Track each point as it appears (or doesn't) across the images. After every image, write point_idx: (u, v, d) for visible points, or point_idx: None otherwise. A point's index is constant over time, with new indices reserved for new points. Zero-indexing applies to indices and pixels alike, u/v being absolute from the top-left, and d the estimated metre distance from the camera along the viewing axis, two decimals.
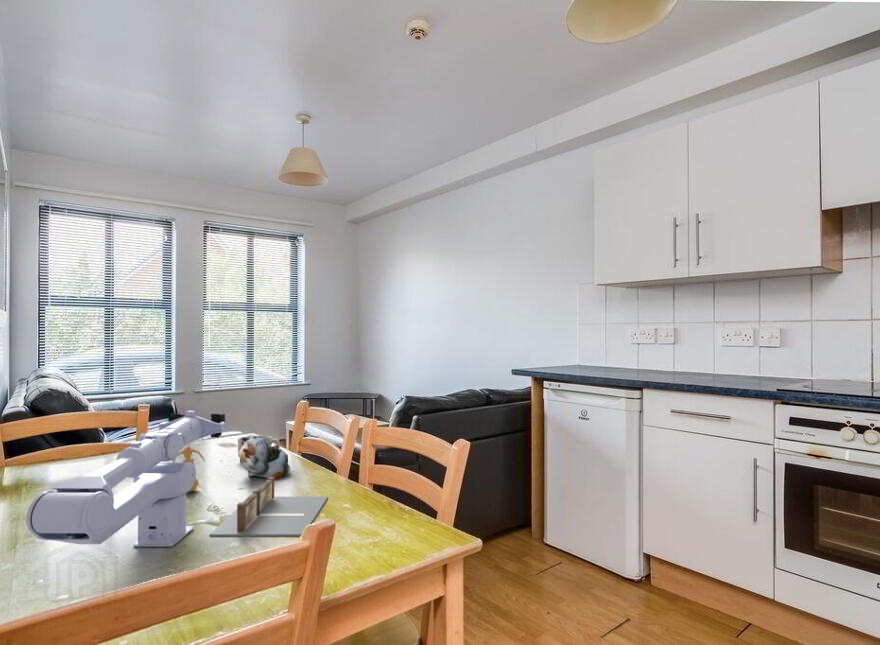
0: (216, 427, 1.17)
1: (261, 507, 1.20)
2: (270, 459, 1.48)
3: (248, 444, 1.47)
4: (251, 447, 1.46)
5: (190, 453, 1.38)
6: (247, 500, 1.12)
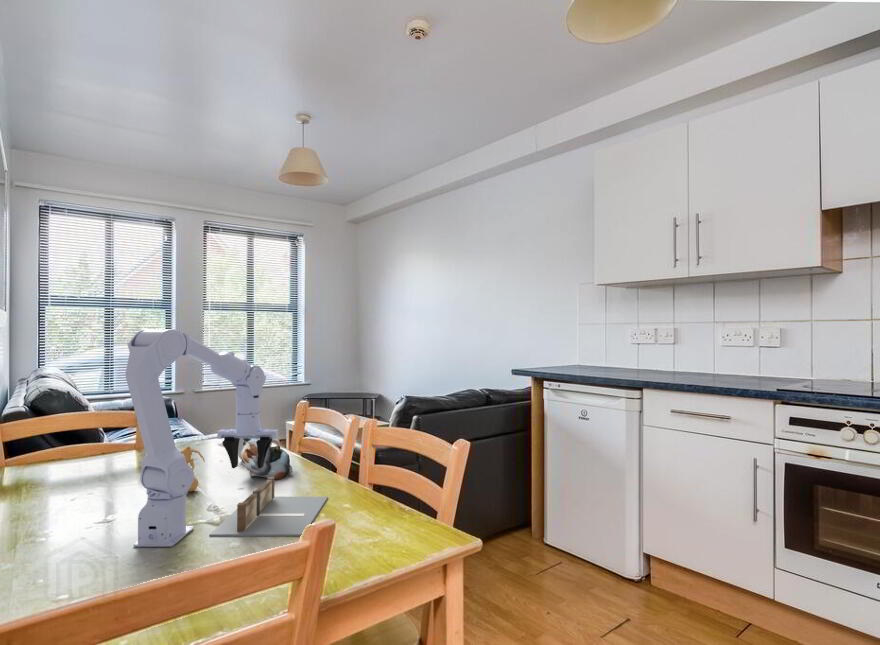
0: None
1: (261, 507, 1.20)
2: (272, 460, 1.48)
3: (250, 444, 1.47)
4: (253, 447, 1.46)
5: (190, 453, 1.38)
6: (247, 500, 1.12)
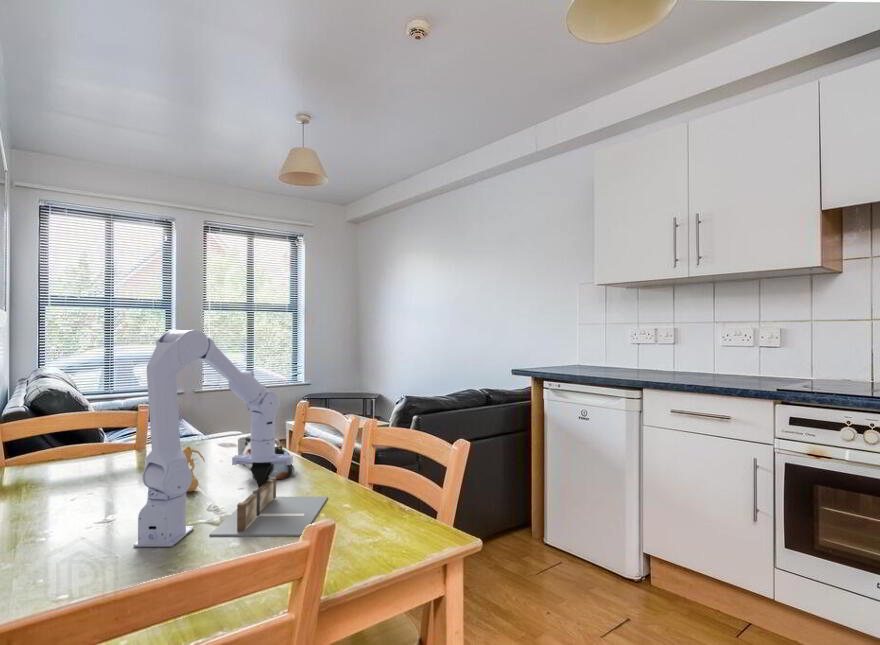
0: None
1: (261, 507, 1.20)
2: None
3: None
4: None
5: (190, 453, 1.38)
6: (247, 500, 1.12)
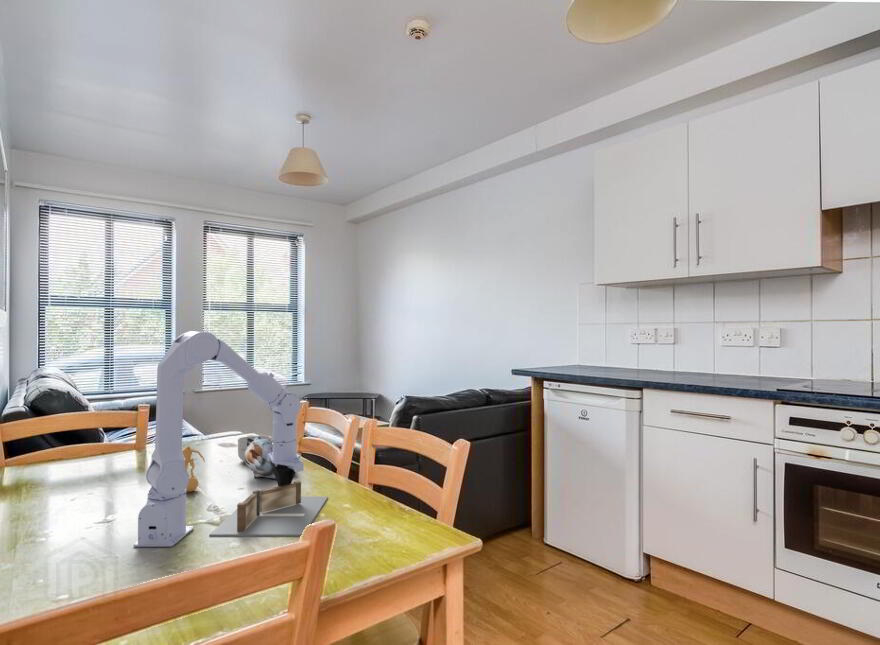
0: None
1: (266, 509, 1.19)
2: None
3: (254, 445, 1.46)
4: (258, 448, 1.45)
5: (190, 453, 1.38)
6: (247, 500, 1.12)
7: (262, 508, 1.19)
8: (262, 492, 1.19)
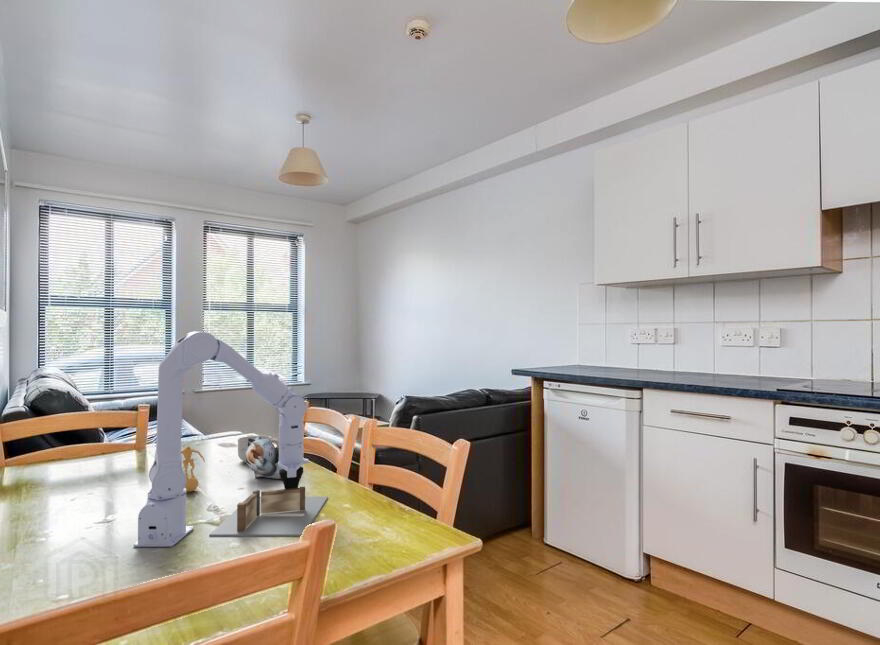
0: (292, 468, 1.16)
1: (265, 510, 1.18)
2: (278, 460, 1.48)
3: (255, 445, 1.46)
4: (259, 448, 1.45)
5: (190, 453, 1.38)
6: (247, 500, 1.12)
7: (262, 509, 1.18)
8: (261, 493, 1.18)
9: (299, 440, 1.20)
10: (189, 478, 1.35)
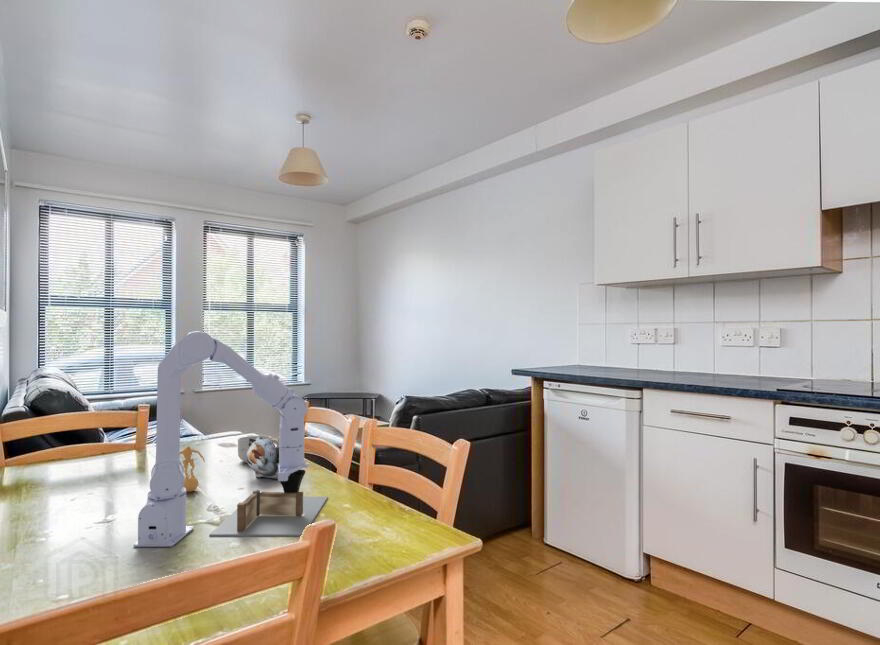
0: (284, 471, 1.13)
1: (264, 511, 1.17)
2: None
3: (256, 445, 1.46)
4: (260, 448, 1.45)
5: (190, 453, 1.38)
6: (247, 500, 1.12)
7: (260, 510, 1.17)
8: (260, 494, 1.17)
9: (299, 443, 1.18)
10: (189, 478, 1.35)
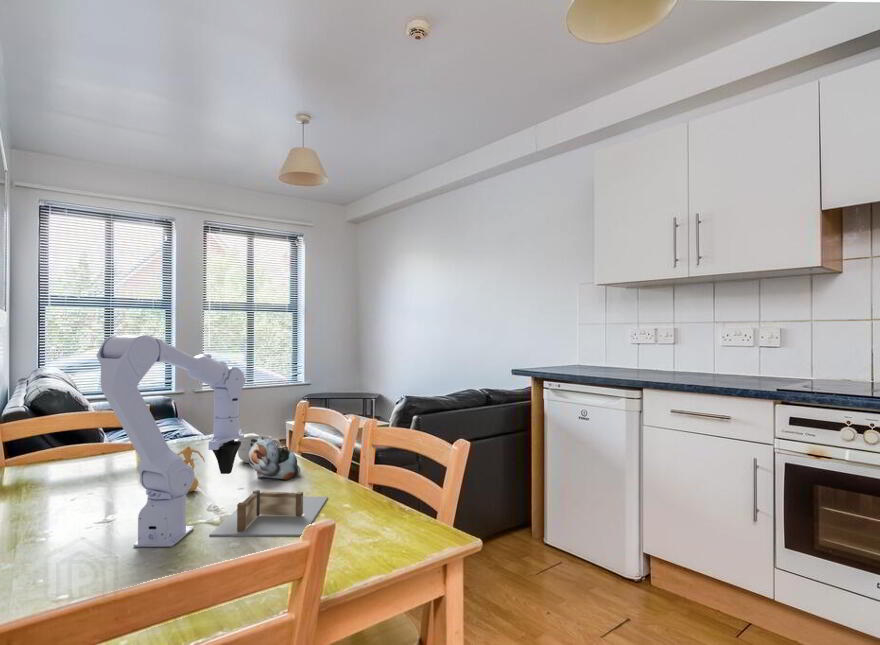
0: (216, 441, 1.15)
1: (264, 511, 1.17)
2: (281, 460, 1.47)
3: (259, 445, 1.46)
4: (262, 448, 1.45)
5: (190, 453, 1.38)
6: (247, 500, 1.12)
7: (260, 510, 1.17)
8: (260, 494, 1.17)
9: (238, 412, 1.21)
10: None
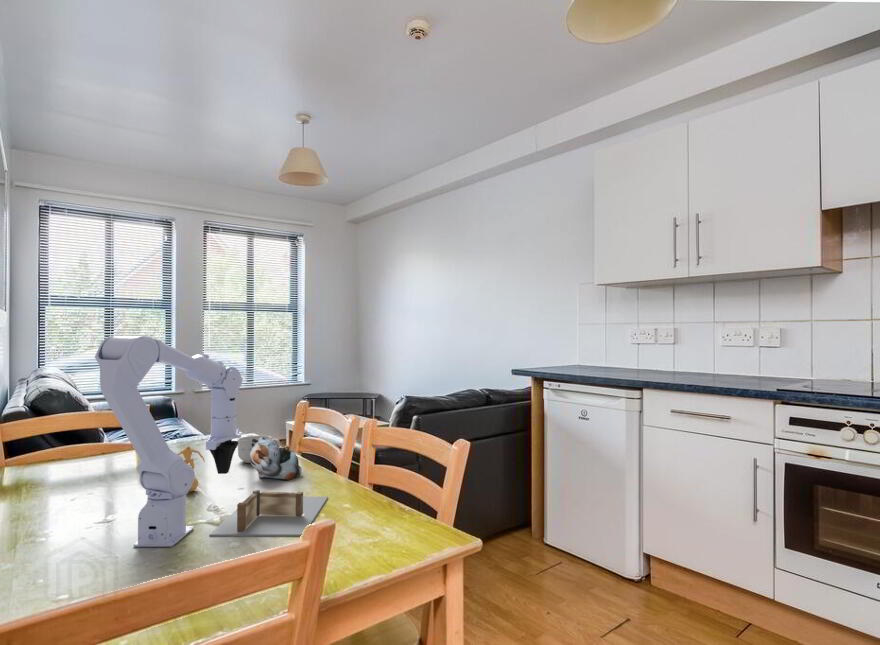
0: (213, 441, 1.15)
1: (264, 511, 1.17)
2: (282, 460, 1.47)
3: (260, 445, 1.45)
4: (264, 448, 1.45)
5: (190, 453, 1.38)
6: (247, 500, 1.12)
7: (260, 510, 1.17)
8: (260, 494, 1.17)
9: (235, 412, 1.21)
10: None
